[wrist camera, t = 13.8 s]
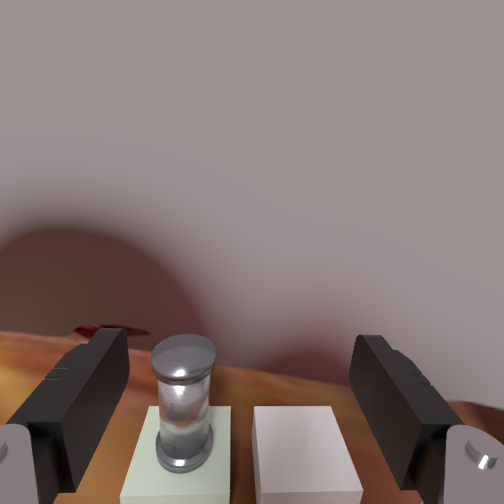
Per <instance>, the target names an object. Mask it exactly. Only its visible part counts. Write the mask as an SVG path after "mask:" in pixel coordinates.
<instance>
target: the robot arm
mask: <svg viewBox="0 0 504 504" xmlns="http://www.w3.org/2000/svg"><path fill="white" fill-rule="evenodd" d="M129 371H130V365H129V354H128V344H127V334H126V331H125V329H104V328H101V329H99V330H98V331H97V332H96V333H95V335H94V336H93V337H92V339H91V340H90V341H89V342H88V344H80V345H78V346H77V347H75V348H74V349H72V350H71V351H69V352H68V353H66V354H65V355H64V356H63V357H62V358H61V359H60V361H59V362H58V363H57V364H56V365H55V367H54V369H52V370H51V371H50V372H49V374H48V375H47V376H46V377H45V380H43V381H42V382H41V383H40V384H39V385H38V386H37V388H36V389H35V390H34V391H33V392H32V393H31V395H30V396H29V397H28V398H27V399H26V401H25V402H24V403H23V404H22V405H21V406H20V408H19V409H18V410H17V411H16V412H15V413H14V415H13V416H12V417H11V418H10V419H9V420H8V422H7V423H6V424H5V425H1V426H0V504H53V502H54V500H55V498H56V497H57V495H58V493H75V492H76V490H77V488H78V486H79V484H80V482H81V480H82V478H83V475H84V473H85V471H86V469H87V467H88V465H89V463H90V461H91V459H92V457H93V454H94V452H95V450H96V448H97V446H98V444H99V442H100V440H101V438H102V436H103V434H104V431H105V429H106V427H107V425H108V423H109V421H110V419H111V417H112V415H113V413H114V410H115V408H116V406H117V404H118V402H119V400H120V398H121V396H122V394H123V392H124V389H125V387H126V385H127V382H128V378H129ZM349 379H350V385H351V388H352V390H353V393H354V395H355V397H356V399H357V401H358V403H359V405H360V407H361V409H362V411H363V413H364V415H365V417H366V420H367V422H368V424H369V426H370V428H371V430H372V432H373V434H374V436H375V438H376V440H377V442H378V445H379V447H380V449H381V451H382V453H383V455H384V457H385V459H386V461H387V463H388V465H389V467H390V470H391V472H392V474H393V476H394V478H395V480H396V482H397V484H398V486H399V488H400V490H417V491H418V493H419V495H420V497H421V499H422V501H421V503H420V504H504V445H503V444H501V443H500V442H499V441H498V440H496V439H495V438H494V437H492V436H490V435H489V434H487V433H485V432H483V431H481V430H479V429H477V428H474V427H471V426H466V425H465V424H464V423H463V422H462V421H461V419H460V418H459V417H458V416H457V415H456V413H455V412H454V411H453V410H452V409H451V407H450V406H449V405H448V404H447V403H446V401H445V400H444V399H443V398H442V397H441V396H440V394H439V393H438V392H437V391H436V389H435V388H434V387H433V386H431V385H430V382H429V381H428V380H427V379H426V377H425V376H424V375H422V373H421V371H420V370H419V369H418V368H417V366H416V365H415V364H414V363H413V362H412V361H411V360H410V359H409V358H407V357H406V356H404V355H403V354H402V353H400V352H399V351H397V350H393V349H392V348H391V347H390V345H389V344H388V343H387V341H386V340H385V339H384V338H383V337H382V336H381V335H358V336H357V338H356V341H355V345H354V350H353V355H352V360H351V365H350V370H349Z"/></svg>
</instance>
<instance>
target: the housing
mask: <svg viewBox="0 0 504 504" xmlns="http://www.w3.org/2000/svg"><path fill="white" fill-rule="evenodd" d="M215 362H216V349H215V346H214V344H213V343H212V342H211V341H210V340H209V339H207V338H205V337H203V336H200V335H195V334H180V335H175V336H172V337H169V338H167V339H165V340H163V341H161V342H160V343H159V344H157V345H156V347H155V348H154V349H153V351H152V354H151V366H152V372H153V375H154V376H155V377H156V378H157V379H158V397H159V419H160V430H159V432H158V434H157V437H156V443H155V444H156V457H157V460H158V462H159V464H160V465H161V466H162V467H163V468H164V469H165V470H167V471H169V472H171V473H175V474H185V473H189V472H192V471H194V470H196V469H198V468H199V467H200V466H202V465H203V464H204V463H205V462H206V460H207V459H208V458H209V456H210V454H211V451H212V447H213V430H212V427H211V425H210V423H209V397H210V374H211V372H212V371H213V369H214V367H215Z"/></svg>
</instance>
